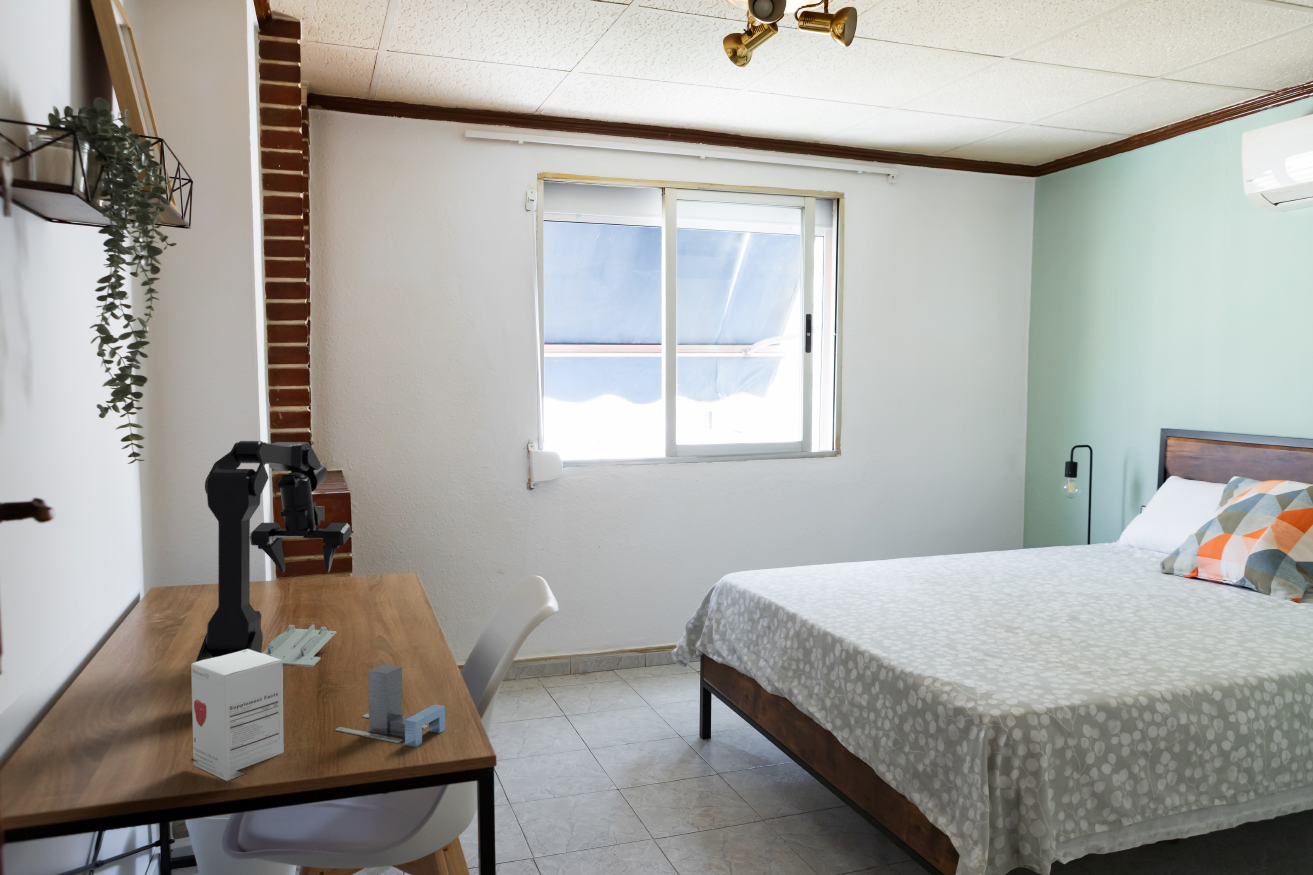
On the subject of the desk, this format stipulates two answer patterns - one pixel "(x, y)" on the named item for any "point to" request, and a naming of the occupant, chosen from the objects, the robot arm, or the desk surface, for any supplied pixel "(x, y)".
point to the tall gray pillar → (386, 700)
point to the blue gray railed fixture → (412, 726)
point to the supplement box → (236, 711)
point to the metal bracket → (299, 645)
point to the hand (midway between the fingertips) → (305, 571)
